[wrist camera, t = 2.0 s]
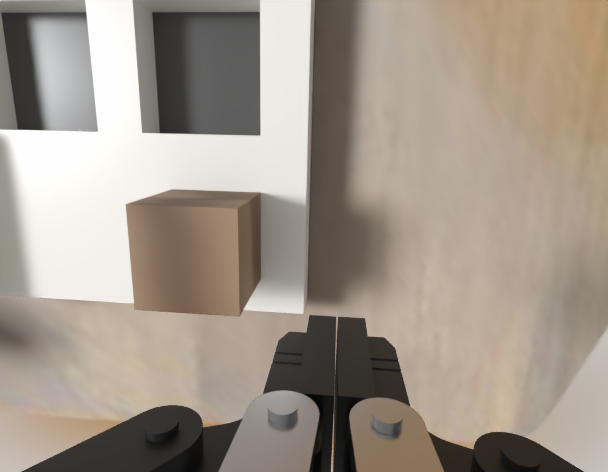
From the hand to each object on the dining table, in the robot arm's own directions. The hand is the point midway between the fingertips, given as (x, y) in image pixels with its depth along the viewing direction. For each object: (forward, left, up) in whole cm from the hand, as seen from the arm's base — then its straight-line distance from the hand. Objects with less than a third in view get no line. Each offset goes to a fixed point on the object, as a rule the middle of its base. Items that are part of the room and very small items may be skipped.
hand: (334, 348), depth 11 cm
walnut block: (+7, 0, -12) cm, 14 cm away
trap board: (+12, -5, -14) cm, 19 cm away
